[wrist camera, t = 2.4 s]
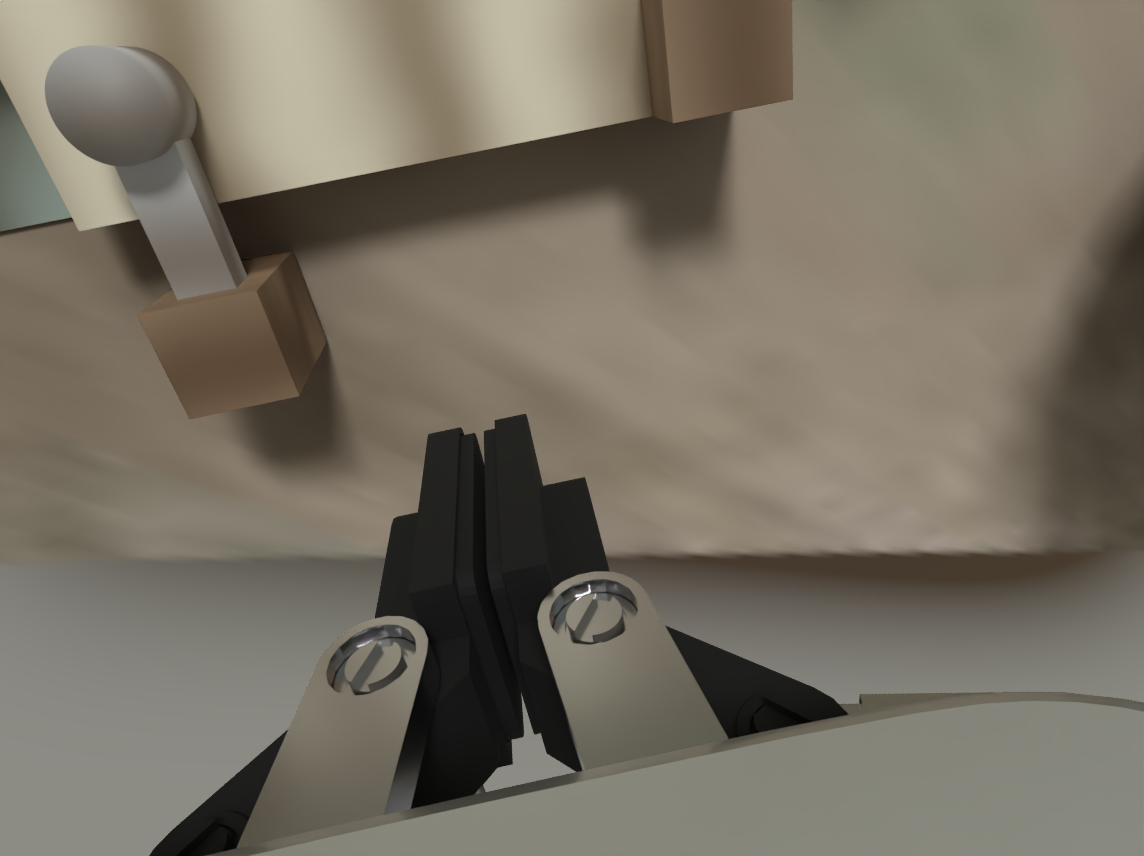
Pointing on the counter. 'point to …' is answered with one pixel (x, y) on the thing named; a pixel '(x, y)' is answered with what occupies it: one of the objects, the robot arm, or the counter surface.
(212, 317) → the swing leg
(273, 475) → the counter surface
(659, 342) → the counter surface
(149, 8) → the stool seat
